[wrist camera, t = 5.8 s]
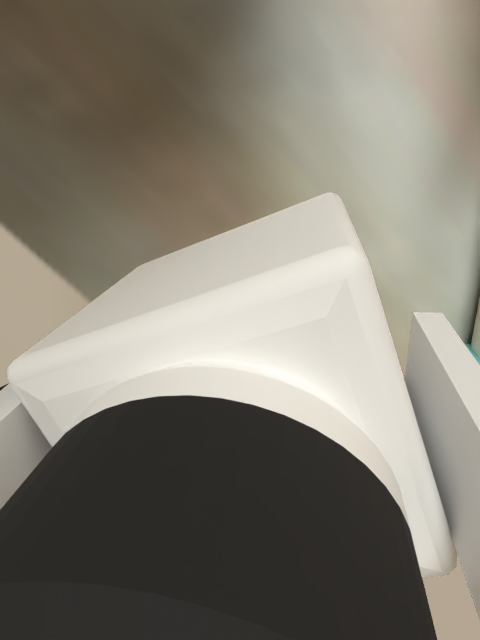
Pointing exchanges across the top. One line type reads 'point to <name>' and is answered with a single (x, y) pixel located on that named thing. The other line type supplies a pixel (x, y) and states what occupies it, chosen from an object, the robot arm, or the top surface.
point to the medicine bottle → (226, 453)
